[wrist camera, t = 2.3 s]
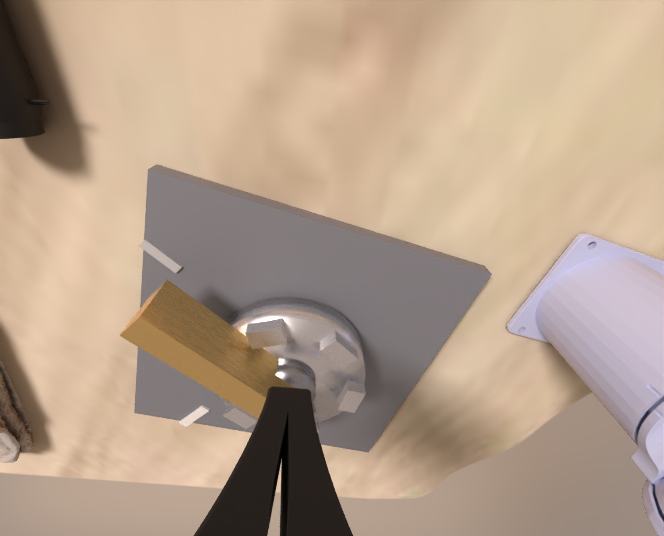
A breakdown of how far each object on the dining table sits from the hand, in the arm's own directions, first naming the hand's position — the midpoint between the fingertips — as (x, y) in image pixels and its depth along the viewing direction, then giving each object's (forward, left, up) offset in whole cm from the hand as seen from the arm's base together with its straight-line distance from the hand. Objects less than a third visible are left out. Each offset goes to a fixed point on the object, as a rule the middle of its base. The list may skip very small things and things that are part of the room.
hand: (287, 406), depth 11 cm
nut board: (-1, +7, -10) cm, 13 cm away
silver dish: (+1, +6, -9) cm, 11 cm away
